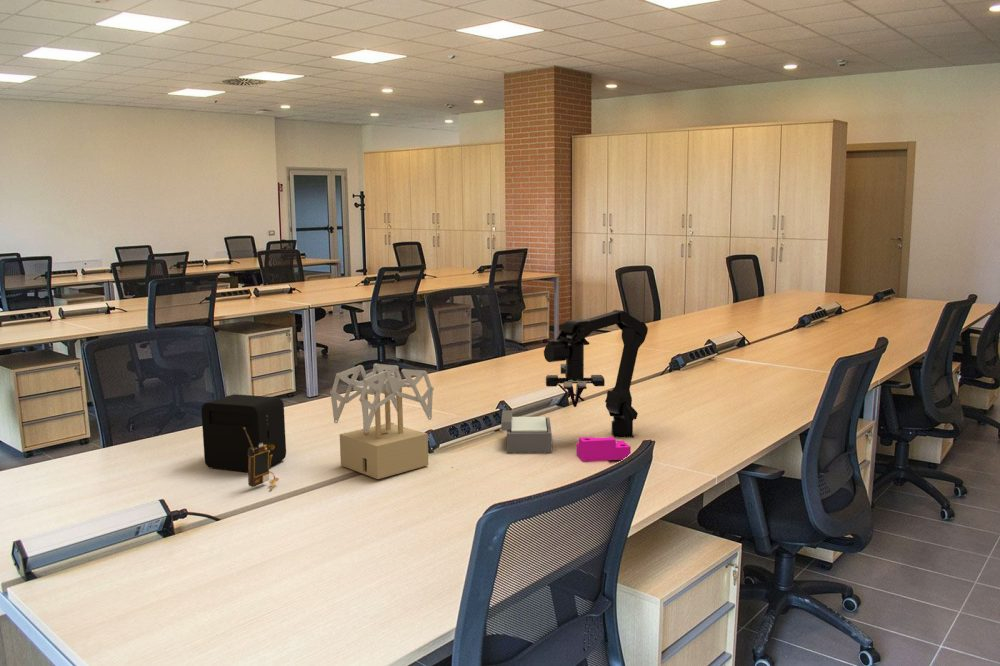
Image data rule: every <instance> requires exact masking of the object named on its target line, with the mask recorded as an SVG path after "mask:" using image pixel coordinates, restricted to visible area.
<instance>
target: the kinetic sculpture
mask: <svg viewBox="0 0 1000 666" xmlns="http://www.w3.org/2000/svg"><path fill="white" fill-rule="evenodd" d="M372 368H373V369H372V371H371V372H369V373H366V370H365V368H364V366H363V365H362V364H359V365H357V366H353V367H352V368H348V369H346V370H343V371H341V372H337V373H336V374H335V379H334V381H333V384H332V389H331V390H330V391H329V394H330V399H331V407H332V408H331V409H332V413H333V415H332V416H333V422H334V424H338V422H339V420H340V417H341V415H342V413H343V410H344V408H345V405H346V404H349V403H350V402H351V401H352V400H354V399H356V398H357V397H359V396H360V397H359V400H358V401H359V402H360V403H361V404H360V405H361V412H362V422H363V424H362V425H363V428H362V429H361V428H360V429H357V430H353V431H348V432H347V431H346V432H343V433H339V452H340V454H339V455H340V466H341V467H344V468H347V469H349V470H352V471H355V472H357V473H360V474H363V475H366V476H368V477H371V478H373V479H376V480H379V479H384V478H387V477H391V476H394V475H397V474H398V475H399V474H402V473H406V472H409V471H413V470H416V469H420V468H423V467H426V466H429V434H428V433H426V432H423V431H420V430H416V429H412V428H409V427H406V426H405V427H404V417H403V415H404V414H403V413H404V412H403V410H404V409H403V398H404V399H406V400H409V401H410V400H411V401H414V402H417V403H419V404H420V405H421V407H422V410H423V412H424V413H425V416H426V418H427V419H428V421H431V420H432V418H433V417H432V416H433V393H434V392H433V391H435V388H434V387H433V386H432V384H431V381H430V378H429V375H428V372H427V371H426V370H419V369H409V368H408V369H407V368H402V369H401V371H399V366H398V365H394V364H383V363H374V364H373V366H372ZM400 372H401V373H402V375H403V377H404V378H405V379H402V376H401V373H400ZM360 373H361V376H362V378H363V380H357V379H358V377H359V375H360ZM350 375H352V376H351V378H350V377H349V376H350ZM412 376H415V378H414V379H413V378H412ZM423 378H424V381H425V383H426V387H427V390H425V392H424V393H423V395H421V394H420V392H419V390H418V387H417V385H418V383H419V382H420V381H421V380H422V379H423ZM340 380H341V381H342V382H344V383H345V384H347V385H348V386H347V389H346V391H345V394H344V396H342V395H341V394H340V393H338V392H337V388H338V386H339V382H340ZM352 388H353V391H355V392H354V393H353V394H351V391H352ZM403 388H412V390H413V393H414V395H415V396H414V395H411V394H409V393H408V394H407V393H406V392H405V393H404V392H403ZM350 394H351V395H350ZM381 394H384V398H383V399H381ZM369 395H372V396H373V395H374V396H373V397H374V399H373V401H372V402H370V401H369V397H368V396H369ZM426 400H427V403H426ZM338 402H340V403H339V405H338ZM391 403H392V405H393V407H394V409H395V411H396V412H397V424H394V422H391V417H392V416H391ZM383 405H384V412H385V415H384V416H385V419H384V420H385V422H384V424H381V422H382V421H381V419H382V418H381V407H382V406H383ZM369 411H370V412H369ZM374 419H375V421H374V424H375V425H374V426H371V425H372V422H373V420H374Z"/></svg>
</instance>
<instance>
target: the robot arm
mask: <svg viewBox="0 0 1000 666" xmlns="http://www.w3.org/2000/svg"><path fill="white" fill-rule="evenodd" d="M615 325H616V326H617V328H618V329H619V330H621V340H622V342H623V343H622V344H623V348H622V353H621V358H620V363H619V367H618V372H617V377H616V380H615V381H616V382H615V385H614V387H613V388H612V390H607V392H606V398H605V400H604V402H605V408H606V410H607V412H608V414H609V416H610V417H612V419H613V420H612V421H611V434H612V435H613V438H634V430H633V429H634V426H633V425H634V420H637V417H638V412H637V410H636V409H635V408H634V407H633V406H632V403H633V398H632V392H631V391H630V390H631V389H630V388H631V384H632V379H633V376H634V371H635V366H636V361H637V356H638V352H639V349H640V347H641V346H642V344H643V343H644V342H645V341H646V337H647V335H648V332H649V331H648V330H649V328H648V326H647V324H646V323H645V322H643V321H640V320H639V319H637V318H635V317H633V316H632V315H630V314H629V313H628V312H626V311H625V310H621V309H614V310H612V311H610V312H606V313H603V314H600V315H596V316H592V317H590V318H585V319H582V318H581V319H579V318H578V319H568V320H565V322H564V324H563V327H562V329H561V331H560V332H559V334H558V336H557V338H556V340H547V344H546V345H545V347H544V350H543V357H544V359H545V361H546V362H548V363H554V362H565V363H560V374H561V375H565V377H559V376H558V374H547V375H546V376H545V386H546V387H557V386H558V385H559V384H560V385H561V384H562V386H563V389H564V390H567V392H568V394H569V397H570V399H571V403H572V406H573V408H576V407H577V406H578V403H579V400H580V397H581V395H582V393H583V391H584V390H586V389H587V384H592V385H593V386H594V387H605V385H606V384H605V378H604V375H602V374H591V375H590V377H584V376H585V375H584V373H585V372H584V371H585V370H584V369H585V368H584V367H585V365H584V364H585V363H584V362H585V361H584V359H585V358H584V357H585V356H584V355H585V352H584V351H585V348H584V347H585V346H588V345H590V342H589V341H588V340H587V339H586V337H589V336H591V334H592V333H593V332H595V331H598V330H601V329H605V328H608V327H611V326H615ZM573 384H576V387H575V391H574V386H573Z"/></svg>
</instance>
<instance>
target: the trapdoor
mask: <svg viewBox="0 0 1000 666" xmlns="http://www.w3.org/2000/svg"><path fill="white" fill-rule="evenodd" d="M501 414H502V415H501V422H500V424H501V425H500V428H501V430H500V431H504V432H505V431H506V432H507V431H511V432H547V426H546V418H545V417H546V416H513V410H510V409H509V410H504V409H503V410H502V412H501Z"/></svg>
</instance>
